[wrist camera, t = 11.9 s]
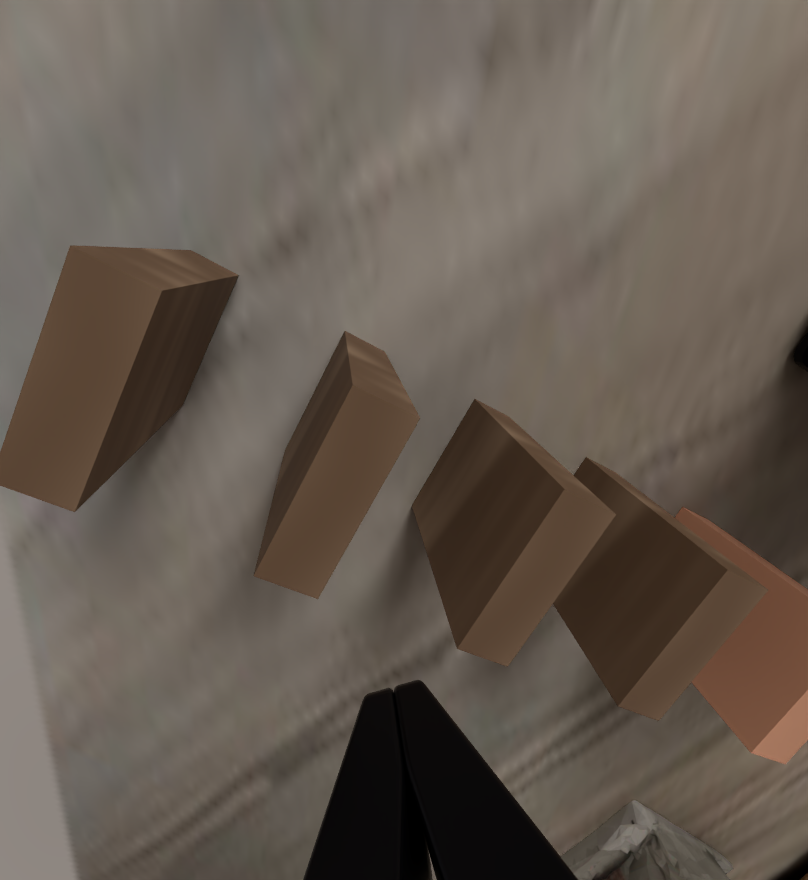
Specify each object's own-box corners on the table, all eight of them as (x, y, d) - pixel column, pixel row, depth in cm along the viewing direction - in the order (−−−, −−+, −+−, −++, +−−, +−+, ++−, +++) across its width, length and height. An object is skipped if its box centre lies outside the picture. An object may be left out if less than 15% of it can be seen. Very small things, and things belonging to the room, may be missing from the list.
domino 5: (708, 519, 23) (892, 648, 15) (644, 605, 24) (785, 764, 16) (682, 506, 22) (858, 633, 15) (618, 594, 23) (751, 753, 16)
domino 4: (615, 472, 21) (768, 590, 14) (550, 566, 22) (658, 720, 15) (586, 457, 21) (727, 569, 13) (521, 553, 22) (617, 706, 14)
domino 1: (238, 275, 17) (161, 290, 9) (182, 405, 18) (74, 512, 10) (191, 250, 16) (70, 245, 9) (136, 385, 17) (-10, 482, 10)
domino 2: (384, 352, 18) (419, 418, 11) (324, 467, 19) (317, 598, 12) (344, 330, 18) (352, 384, 10) (285, 450, 19) (253, 576, 12)
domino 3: (509, 416, 20) (616, 514, 12) (445, 520, 21) (507, 666, 13) (474, 398, 19) (564, 489, 12) (411, 505, 20) (457, 648, 13)
